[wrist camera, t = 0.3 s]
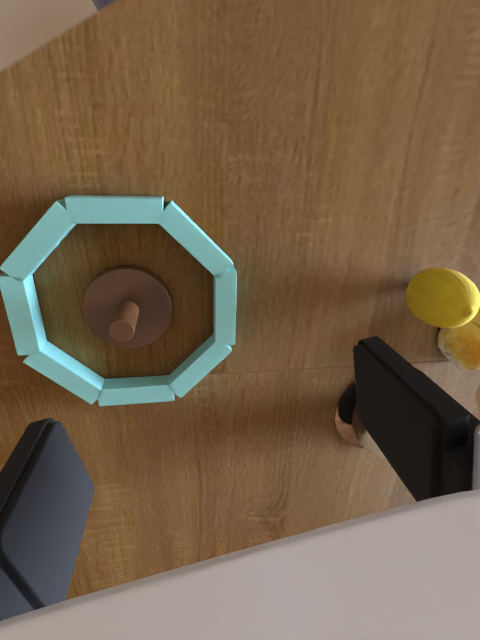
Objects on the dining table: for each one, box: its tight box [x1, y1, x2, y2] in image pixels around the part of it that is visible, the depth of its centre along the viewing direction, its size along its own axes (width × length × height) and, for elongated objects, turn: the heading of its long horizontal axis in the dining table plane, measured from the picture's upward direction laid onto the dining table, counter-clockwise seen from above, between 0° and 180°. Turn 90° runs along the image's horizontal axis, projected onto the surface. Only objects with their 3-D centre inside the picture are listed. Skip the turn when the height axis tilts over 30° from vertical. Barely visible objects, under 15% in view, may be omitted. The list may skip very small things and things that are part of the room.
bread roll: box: [438, 307, 480, 370], centre depth 39 cm, size 8×9×4 cm
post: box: [83, 265, 172, 348], centre depth 31 cm, size 8×8×6 cm
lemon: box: [406, 268, 480, 328], centre depth 34 cm, size 6×6×8 cm
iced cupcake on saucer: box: [335, 383, 387, 460], centre depth 43 cm, size 12×10×10 cm
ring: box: [0, 195, 237, 406], centre depth 33 cm, size 20×20×2 cm
